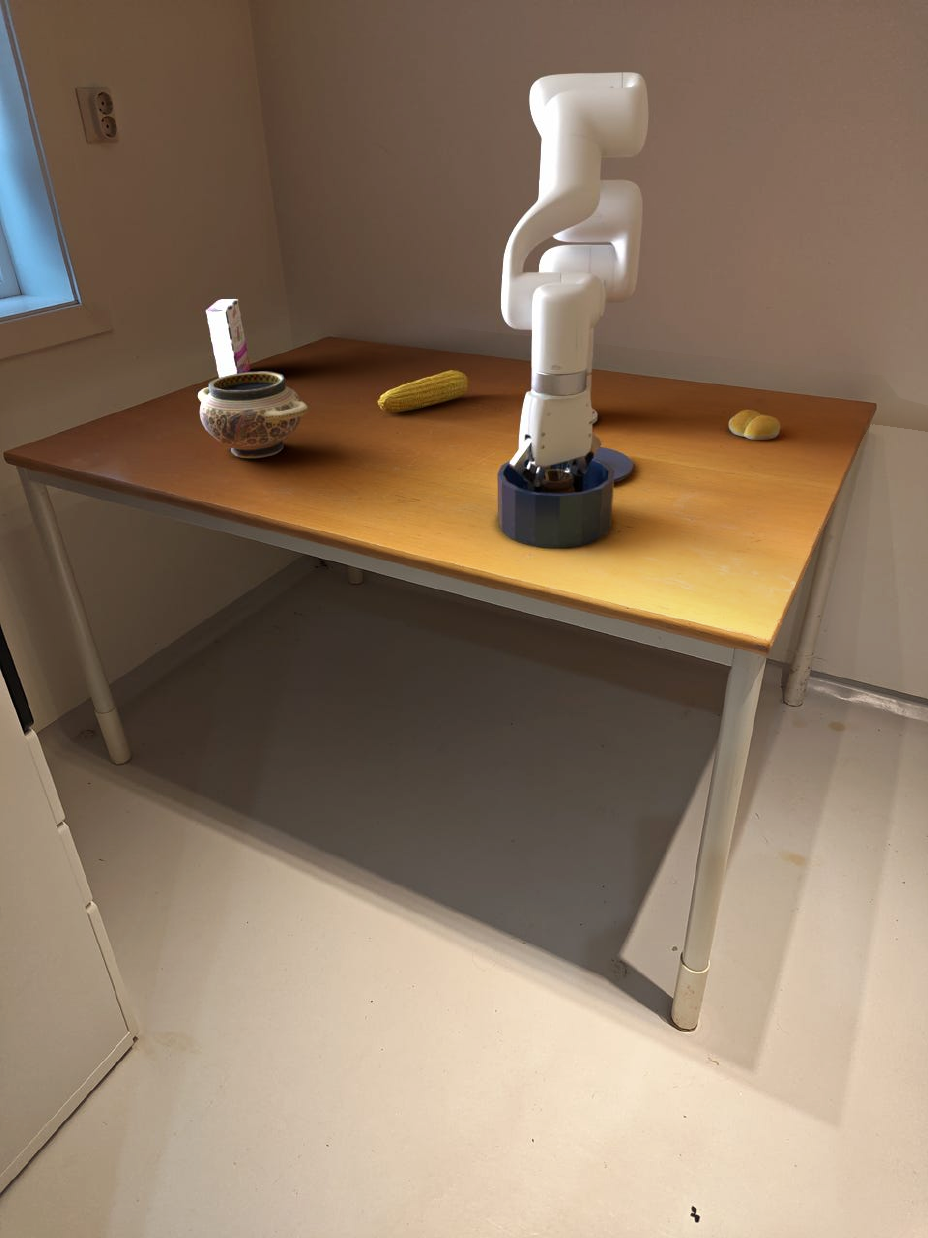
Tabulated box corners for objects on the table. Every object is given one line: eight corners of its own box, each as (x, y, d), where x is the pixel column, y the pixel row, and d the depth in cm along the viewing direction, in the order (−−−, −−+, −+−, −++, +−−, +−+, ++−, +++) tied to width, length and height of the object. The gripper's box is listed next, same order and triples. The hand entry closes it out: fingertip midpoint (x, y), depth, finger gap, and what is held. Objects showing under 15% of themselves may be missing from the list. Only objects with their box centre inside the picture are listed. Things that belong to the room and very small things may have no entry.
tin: (477, 517, 128) (476, 467, 124) (563, 491, 135) (565, 444, 131) (542, 559, 116) (544, 505, 112) (633, 528, 123) (638, 477, 119)
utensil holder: (582, 518, 125) (586, 441, 119) (556, 532, 122) (559, 453, 115) (551, 507, 129) (553, 432, 123) (525, 521, 125) (526, 444, 119)
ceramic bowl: (332, 466, 155) (337, 383, 149) (255, 473, 141) (259, 381, 136) (245, 441, 168) (248, 364, 163) (167, 445, 154) (168, 360, 149)
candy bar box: (230, 370, 202) (218, 299, 194) (251, 369, 202) (239, 298, 194) (218, 383, 193) (204, 309, 184) (239, 383, 193) (227, 308, 184)
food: (456, 393, 182) (455, 365, 179) (472, 399, 178) (471, 370, 175) (373, 413, 171) (371, 384, 168) (389, 420, 167) (386, 391, 164)
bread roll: (763, 444, 151) (767, 423, 149) (721, 432, 157) (724, 411, 154) (788, 433, 155) (792, 412, 153) (746, 422, 161) (749, 401, 159)
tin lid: (508, 465, 146) (508, 427, 142) (587, 444, 153) (589, 408, 150) (571, 498, 133) (573, 458, 129) (654, 473, 141) (658, 435, 137)
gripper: (590, 364, 121) (584, 481, 130) (490, 385, 113) (492, 508, 123) (625, 376, 115) (616, 497, 125) (523, 399, 108) (521, 526, 117)
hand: (555, 501), depth 124 cm, fingers open, 6 cm apart
